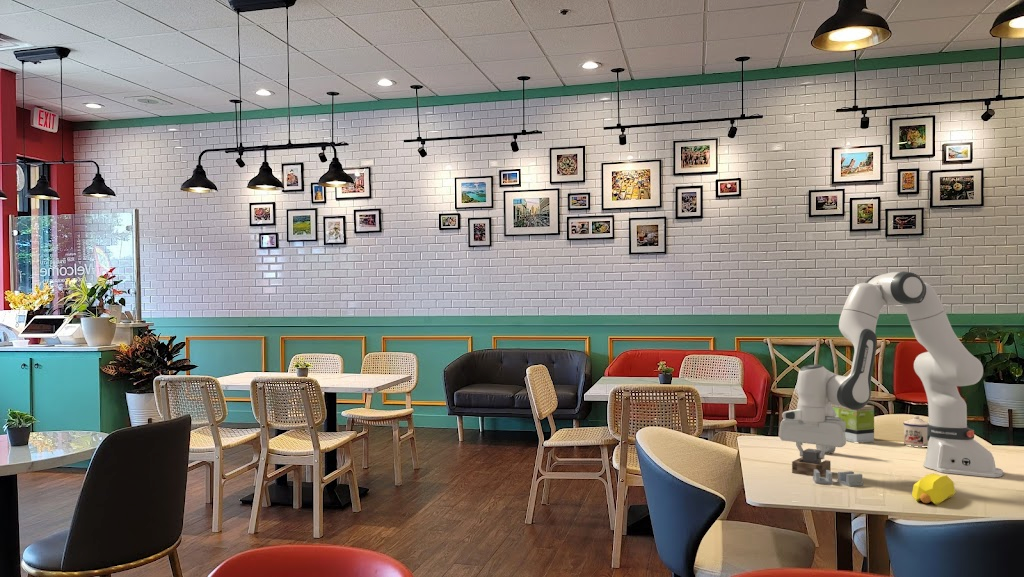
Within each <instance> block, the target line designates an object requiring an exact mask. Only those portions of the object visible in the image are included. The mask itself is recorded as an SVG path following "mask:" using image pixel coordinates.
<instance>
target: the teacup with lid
mask: <svg viewBox="0 0 1024 577" xmlns="http://www.w3.org/2000/svg"><path fill="white" fill-rule="evenodd" d="M928 424H929V422H927V421H925V420H923V419H921V418H920V416H919V415H914V416H913V418H910V419H908V420H904V421H903V444H904V443H905V444H906V445H911V446H918V447H922V446H928V440H927V425H928ZM906 445H905V446H906Z"/></svg>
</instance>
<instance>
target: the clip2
mask: <svg viewBox="0 0 1024 577" xmlns="http://www.w3.org/2000/svg"><path fill="white" fill-rule="evenodd" d="M812 480H813V482H814V483H815V484H821V485H834V481H833V472H832V471H831V472H830V470H826V474H825V477H820V472H819V471H818V470H817V469H814V476H812Z"/></svg>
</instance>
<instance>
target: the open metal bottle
mask: <svg viewBox="0 0 1024 577" xmlns="http://www.w3.org/2000/svg"><path fill="white" fill-rule="evenodd" d="M831 404H832V403H827V404H826V405H827V416H829V417H835V416H836V413H835V410H834V409H833V408H832V406H831ZM815 448H816V449H817V450H821V452H822V451H823V449H822V445H817V444H815ZM836 448H837V447H834V446H828V449H827V451H826V452H825V453H824V455H825V454H826V455H827V454H833V453H834V452H836Z"/></svg>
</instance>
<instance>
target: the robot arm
mask: <svg viewBox="0 0 1024 577" xmlns="http://www.w3.org/2000/svg"><path fill="white" fill-rule="evenodd" d="M884 306H886V307H887V306H888V307H889V306H890V307H894V306H895V307H896V306H902V307H903V309H905V312H906V316H907V318H908V321H909V324H910V327H911V330H912V332H913V334H914V336H915V339H916V341H917V342H918V343H919V344H920V345H921V346H923V347H924V349H926V351H925V352H922V353H920V354H918V355H916V357H915V360H914V361H913V370H914V372H915V374H916V375H917V376H918V378H919V379H920V381H921V382H922V386H923V388H924V391H925V394H926V399H927V408H928V410H927V411H928V412H927V413H928V423H929V424H928V425H927V440H928V447H927V448H926V455H925V458H924V462H923V467H925V468H927V469H930V470H935V471H937V472H940V473H944V474H952V475H965V476H974V477H975V476H976V477H985V478H1000V477H1002V476H1003V475H1004V470H1003V469H1002V468H999V467H996V462H995V458H994V455H993V454H992V452H991V451H990V450H988V449H987V448H986V447H984V446H983V445H982V444H981V443H979V442H978V441H976V440H975V430H974V429H972V428H970V427H968V425H967V424H968V419H967V418H968V412H967V411H968V410H967V409H968V408H967V407H968V406H967V403H966V401H965V400H964V398H963V397H962V396H961V395H960V392H959V389H958V387H967V386H973V385H975V384H976V385H977V383H978V382H980V381H981V379H982V378H983V375H984V367H983V364H982V362H981V361H980V359H979V358H977V357H976V356H974V355H973V354H972V353H971V352H970V351H968V349H967V348H966V347H965V345H963V343H962V341H961V340H960V339H959V338H958V336H957V335H956V333H955V332H954V329H953V327H952V324H951V322H950V321H949V318H948V315H947V312H946V310H945V308H944V305H943V303H942V300H941V299H940V297H939V295H938V293H937V292H936V290H935V289H934V287H933V286H932V285H931V284H930V283H928V282H924V281H923V279H922V278H921V276H919V275H918V274H917V273H914V272H911V271H892V272H887V273H882V274H877V275H873V276H870V277H869V278H868V279H866V281H865V282H859V283H857V284H855V285H854V286H852V288H851V291H850V292H849V294H848V296H847V298H846V300H845V303H844V305H843V307H842V311H841V313H840V316H839V321H838V329H839V331H840V333H841V334H842V336H843V337H844V338H845V339H846V340H848V342H850V343H851V344H852V345H853V348H854V349H853V350H854V353H853V358H852V363H851V369H850V373H849V374H848V375H847V376H846V375H845V376H844V375H840V374H837V373H835V372H832V371H830V370H828V369H827V368H826V367H825V366H824V365H821V364H807V365H804V366H802V367H800V369H799V371H798V375H797V382H796V383H797V385H796V386H797V387H796V388H797V390H796V392H797V396H798V398H797V399H798V400H797V405H796V406H797V407H796V408H793V409H790V410H786V411H783V412H782V414H781V417H782V418H783V419H782V420H781V422H780V423H779V432H778V434H779V435H778V436H779V438H780V440H781V441H783V442H784V441H785V442H793V443H795V445H796V447H797V450H798V451H799V456H800V458H801V457H803V451H804V449H803V447H802V446H803V444H807V445H808V444H809V445H816V444H817V445H822V449H823V451H822V452H821V453H818V459H821V460H825V452H826V451H827V449H828V446H834V447H836V448H843V447H844V446H845V445H846V444H847V441H846V436H845V430H846V422H845V421H844V420H843V419H841V418H839V417H829V416H827V405H826V404H827V403H832V404H835V405H840V406H844V407H846V408H849V409H852V410H858V409H861V408H863V407H864V406H866V405H868V403H869V402H870V399H871V396H872V376H873V369H874V365H875V364H874V363H875V359H876V354H877V353H876V352H877V346H878V338H877V335H876V329H877V323H878V320H879V316H880V314H881V311H882V308H883V307H884ZM835 420H836V421H835ZM841 420H842V421H841Z"/></svg>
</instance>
